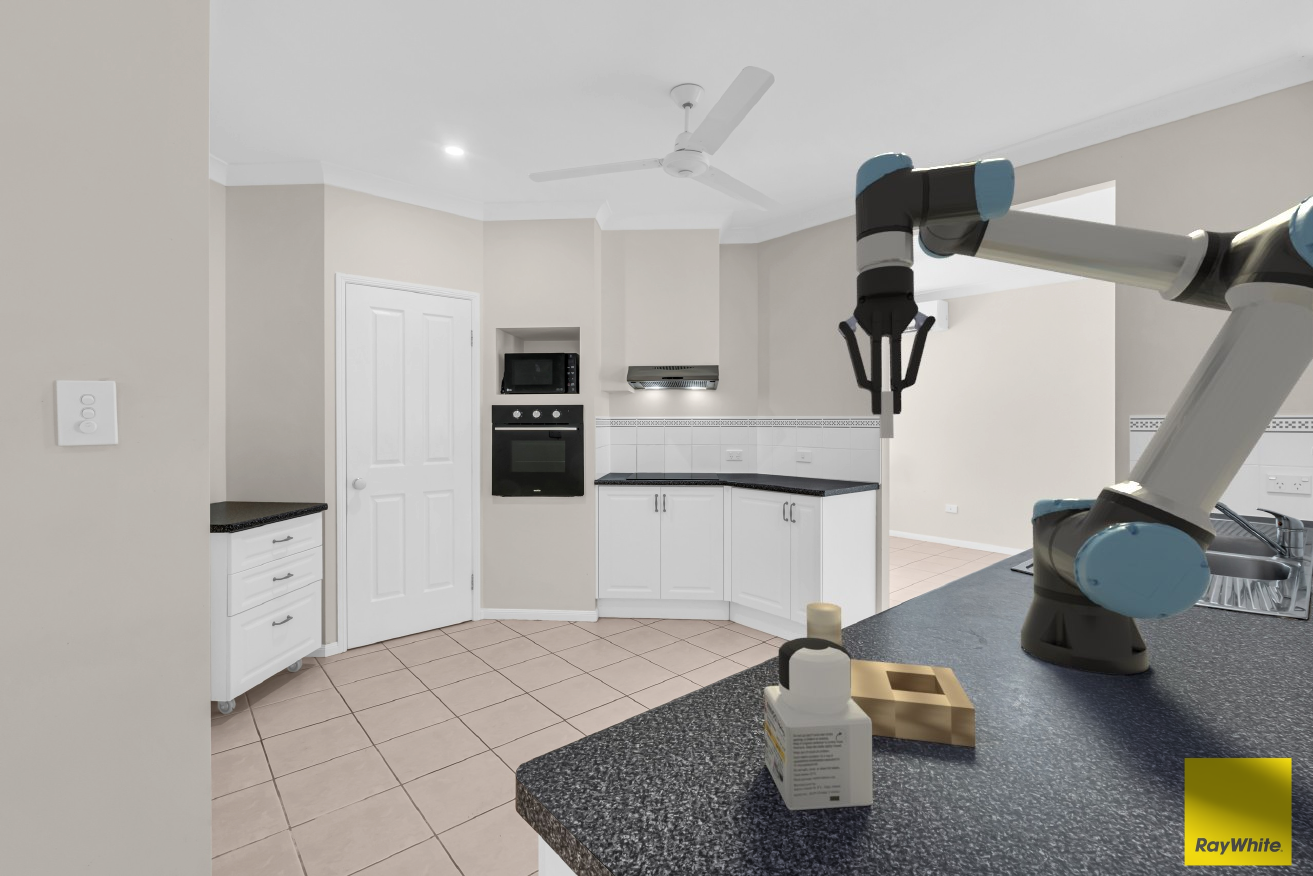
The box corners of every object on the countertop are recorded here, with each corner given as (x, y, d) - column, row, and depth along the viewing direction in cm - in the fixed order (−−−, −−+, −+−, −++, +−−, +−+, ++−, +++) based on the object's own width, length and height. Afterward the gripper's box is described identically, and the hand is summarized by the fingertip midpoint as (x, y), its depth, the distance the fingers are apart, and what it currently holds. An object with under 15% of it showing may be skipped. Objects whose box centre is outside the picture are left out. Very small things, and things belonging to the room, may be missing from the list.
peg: (843, 717, 66) (842, 613, 66) (807, 713, 67) (806, 611, 68) (841, 701, 70) (840, 603, 70) (807, 697, 71) (806, 601, 71)
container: (763, 762, 57) (762, 632, 57) (838, 758, 58) (837, 629, 58) (788, 812, 49) (786, 662, 50) (874, 807, 50) (872, 658, 50)
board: (950, 700, 70) (950, 668, 70) (975, 747, 60) (974, 708, 60) (784, 683, 76) (784, 653, 76) (779, 723, 65) (779, 688, 65)
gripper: (929, 274, 83) (931, 437, 83) (835, 282, 86) (837, 438, 86) (940, 258, 75) (943, 437, 75) (837, 267, 79) (839, 438, 79)
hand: (886, 438), depth 81 cm, fingers closed
